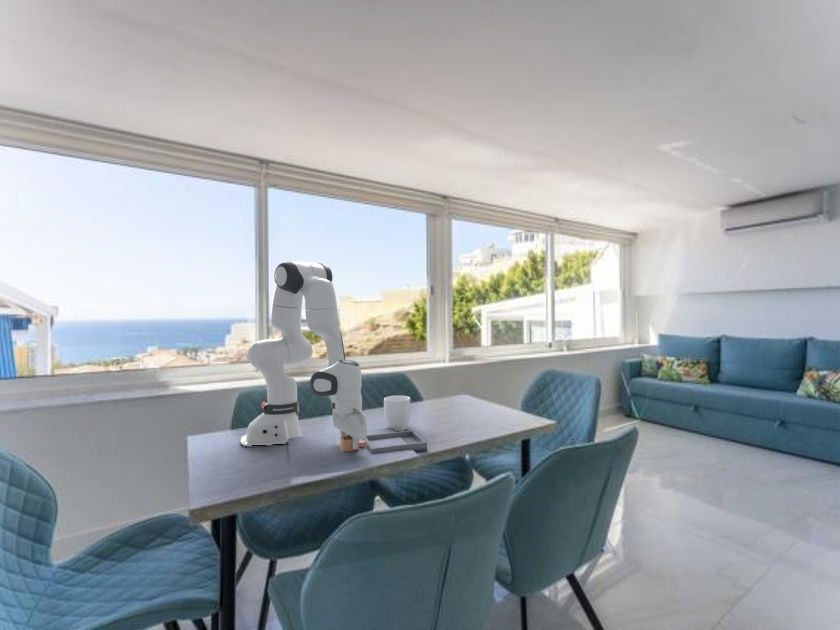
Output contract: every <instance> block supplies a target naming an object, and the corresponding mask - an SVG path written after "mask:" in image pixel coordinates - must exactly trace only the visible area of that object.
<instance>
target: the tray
mask: <svg viewBox="0 0 840 630" xmlns="http://www.w3.org/2000/svg"><path fill="white" fill-rule="evenodd" d="M397 437H398V438H399V437H400V438H401V440H403V441H404V442H405V443H403V444H402V443H401V444H393V445H392V444H391V445H385V446H377V447H376V446H375V447H374V446H373V445H372V443H371V442H370V441H371V440H379V439H388V438H389V439H390V438H397ZM361 441H365V446H366V447H367V449H368V451H369V453H370V454H379V453H386V452H394V451H395V452H396V451H403V450H412V451H413V452H414V453H420V452H421V453H422V452H427V451H428V441H426V440H425V438H423V437H422V436H420V435H419V434H418V433H417V432H416V431H415V430H414V429H409V430H403V431H399V432H395V431H392V432H383V433H375V434H373V433H372V434H367V436H366V438H364V439H361Z"/></svg>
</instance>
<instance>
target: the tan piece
mask: <svg viewBox="0 0 840 630" xmlns="http://www.w3.org/2000/svg"><path fill="white" fill-rule="evenodd" d="M351 443H353V439H352V440H347V438H346V436H341V435H340V446H341V448H342V450H343V452H342V453H345V452H344V451H351V452H353V451H352V450H359V447H364V446H366V444H365V441H363V440H359V442H358V448H357V449H353V448H351ZM359 451H360V450H359Z"/></svg>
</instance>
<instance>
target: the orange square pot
mask: <svg viewBox="0 0 840 630" xmlns="http://www.w3.org/2000/svg"><path fill="white" fill-rule="evenodd" d="M346 438H347V440H352V436H350V435H348V434H347V435H346ZM338 449H339V450H340V452H341V453H349V452H350V453H351V452H357V451H358V452H359V451H362V448H361V446H359V450H352V451H344V452H343V450H342V448H341V445H338Z"/></svg>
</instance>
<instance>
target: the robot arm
mask: <svg viewBox="0 0 840 630" xmlns="http://www.w3.org/2000/svg"><path fill="white" fill-rule="evenodd" d="M273 277H274V281H275V287H274V290H273V294H272V299H271V301H272V302H271V310H270V311H271V312H270V320H269V321H270V323H271V324H270V325H272V327H273V328H275V329H276V330H278V331H279V332H280V333H281V334H280V335H281V337H280V338H273V339H262V340H259V341H255V342H253V343H252V344H251V345H250V347H249V349H248V352H247V357H248V361H249V363H250V365H251V366H252V367H254V369H257V370H258V371H259V372H260V373H261V375H262V376H263V378H264V381H265V384H266V393H267V396H266V397H267V398H266V399H267V402H265V401H263V402H262V403H261V404H260V406H261V411H262V412H261V413H260V414H259V415H258V416H257V417H256V418H254V419H253V420H252V421H251V422H250V423H249V424H248V426H247V429H246V434H244V435H243V436H242V437H241V438H240V445H241V444H242V445H244V446H243V447H245V446H247V447H252V446H251V445H267V446H273V445H272V444H284V445H287V444H289V440H290V439H293V438H302V437H303V434H302V432H301V428H300V427H301V426H300V422H299V413H300V411H299V408H300V405H299V400H298V387H297V386H298V383H297V381H296V380H295V378H293V377H292V376H290V375H288V374H286V371H285V367H291V366H297V365H302V364H304V363H306V362H308V361H310V359H311V358H312V356H313V351H314V350H313V345H312V343H311V342H310V341H309V339H308V338H306V336H305V335H304V333H303V330H302V326H301V325H302V323H301V321H302V310H303V309H302V308H303V298H304V306H305V308H304V309H305V310H304V311H305V320H306V325H307V327H308V329H309V330H310V331H311V332H312V333H313V334H315V335H316V336H318V337H320V338H321V339H322V340H323V341H324V343H325V347H326V354H327V360H328V367H326V368H322V369H319V370H317V371H315V372H314V373H313V374H312V375H311V377H310V380H309V387H310V390H311V391H312V393H313V395H315V396H316V397H318V398H319V397H320V398H326V397H331V396H335V399H336V401H332V402H331V404H330V405H331V409H332V424H333V427H334V428H336V429H337V430H339V433H340V437H341V436H346V435H350V436H352V439H353V443H351V448H353V449H357V448H358V442H359V441H360V440H362V439H364V438H366V436H367V435H368V429H367V428H368V427H367V420H366V416H365V415H364V414H363V412H362V411H363V403H362V402H363V397H362V392H361V391H362V389H361V388H362V371H361V366H360V364H359V363H358V362H357V361H355V360H352V359H346V354H345V347H344V341H343V335H342V330H341V327H340V322H339V316H338V305H337V304H338V303H337V297H336V292H335V288H334V284H333V273H332V269H331V268H330V267H329V266H328V265H326V264H324V263H321V262H320V263H319V262H311V261H284V262H281V263H279V264H278V265H277V266H276V268H275V270H274V275H273ZM301 436H302V437H301ZM286 443H287V444H286ZM242 445H241V446H242Z"/></svg>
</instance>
